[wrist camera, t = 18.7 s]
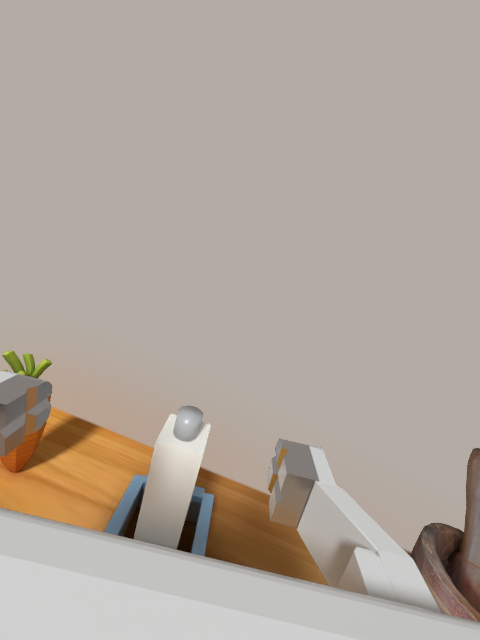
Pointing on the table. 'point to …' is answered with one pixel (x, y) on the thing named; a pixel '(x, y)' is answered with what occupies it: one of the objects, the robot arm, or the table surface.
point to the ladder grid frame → (196, 513)
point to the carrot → (31, 441)
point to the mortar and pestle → (454, 555)
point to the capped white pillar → (172, 478)
